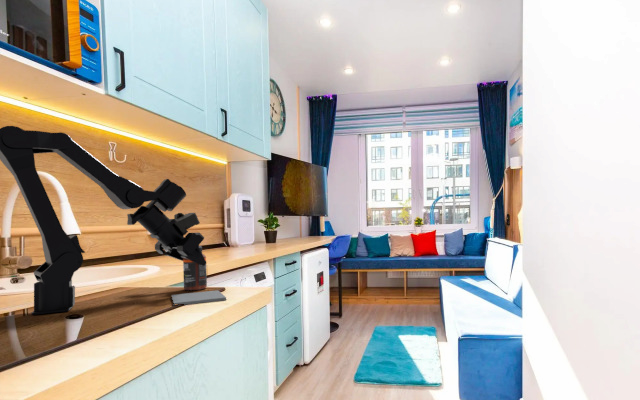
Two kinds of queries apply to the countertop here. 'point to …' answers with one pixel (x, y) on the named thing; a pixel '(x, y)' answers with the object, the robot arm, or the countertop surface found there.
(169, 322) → the countertop surface
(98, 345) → the countertop surface
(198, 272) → the supplement bottle
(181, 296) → the charcoal mat
